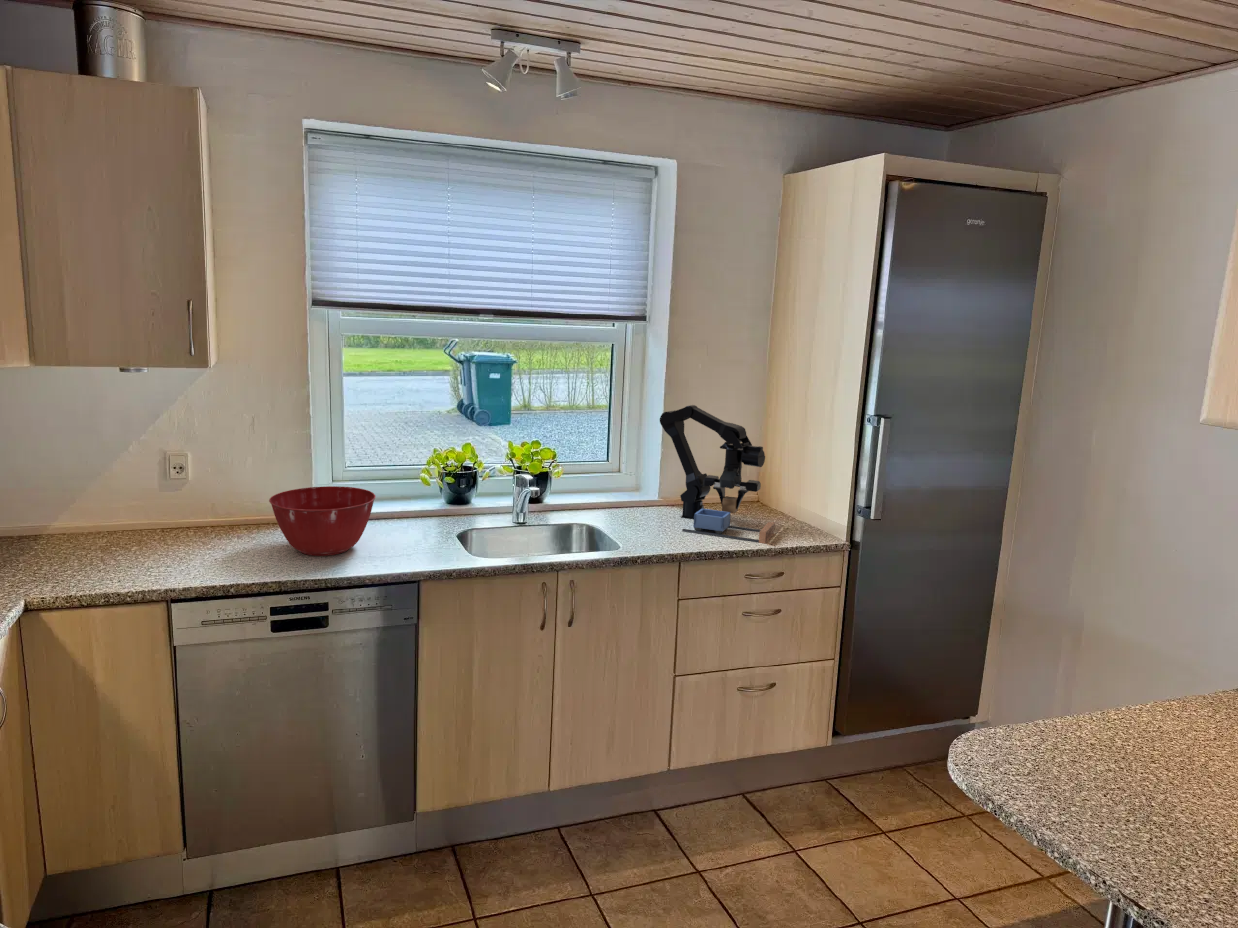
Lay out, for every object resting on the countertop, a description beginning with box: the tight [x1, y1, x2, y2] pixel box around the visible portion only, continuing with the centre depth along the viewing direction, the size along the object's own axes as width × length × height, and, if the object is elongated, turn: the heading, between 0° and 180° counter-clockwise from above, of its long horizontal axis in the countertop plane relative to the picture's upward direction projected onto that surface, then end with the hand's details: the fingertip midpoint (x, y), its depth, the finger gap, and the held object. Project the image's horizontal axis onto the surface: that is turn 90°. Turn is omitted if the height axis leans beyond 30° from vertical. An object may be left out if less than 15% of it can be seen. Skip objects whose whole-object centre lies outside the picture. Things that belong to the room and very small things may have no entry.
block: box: [721, 495, 739, 514], centre depth 296 cm, size 4×4×4 cm
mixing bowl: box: [268, 485, 377, 557], centre depth 246 cm, size 28×28×16 cm
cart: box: [692, 508, 732, 534], centre depth 288 cm, size 10×9×6 cm
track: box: [681, 521, 776, 544], centre depth 286 cm, size 28×14×4 cm, turn 68°
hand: (730, 507), depth 297 cm, fingers closed on block, 4 cm apart
